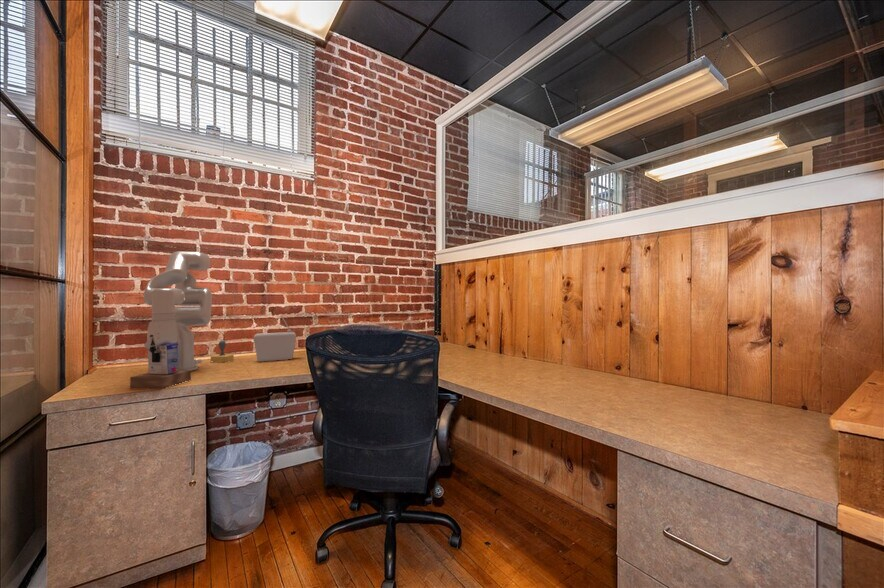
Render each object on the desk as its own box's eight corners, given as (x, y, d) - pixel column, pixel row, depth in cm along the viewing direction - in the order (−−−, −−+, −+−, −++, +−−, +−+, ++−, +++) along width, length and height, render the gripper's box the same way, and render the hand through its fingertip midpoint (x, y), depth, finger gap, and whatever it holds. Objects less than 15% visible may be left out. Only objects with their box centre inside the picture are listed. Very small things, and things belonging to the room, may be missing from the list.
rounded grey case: (295, 357, 212) (295, 315, 212) (296, 359, 204) (296, 316, 204) (254, 360, 202) (254, 316, 202) (253, 362, 194) (253, 317, 195)
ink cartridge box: (180, 371, 150) (178, 337, 149) (168, 374, 145) (165, 339, 144) (160, 370, 152) (158, 337, 151) (148, 374, 147) (145, 339, 146)
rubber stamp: (234, 360, 201) (233, 339, 201) (227, 362, 196) (226, 341, 196) (217, 360, 202) (217, 339, 202) (210, 362, 196) (210, 341, 196)
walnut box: (161, 381, 155) (161, 369, 155) (190, 381, 154) (190, 370, 154) (130, 389, 141) (130, 377, 141) (162, 390, 140) (162, 377, 140)
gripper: (174, 316, 157) (174, 356, 157) (134, 319, 140) (134, 364, 140) (189, 316, 156) (189, 357, 156) (150, 319, 139) (150, 365, 139)
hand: (163, 360), depth 148 cm, fingers open, 5 cm apart
